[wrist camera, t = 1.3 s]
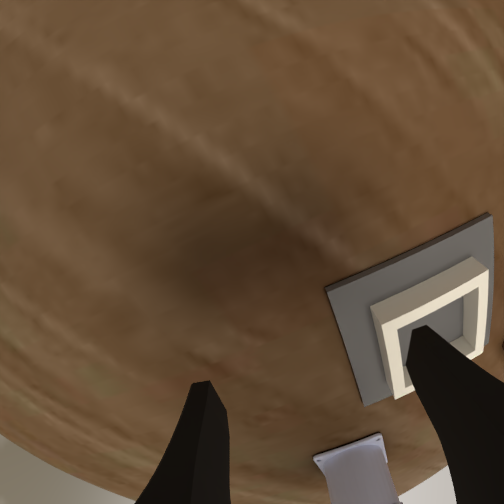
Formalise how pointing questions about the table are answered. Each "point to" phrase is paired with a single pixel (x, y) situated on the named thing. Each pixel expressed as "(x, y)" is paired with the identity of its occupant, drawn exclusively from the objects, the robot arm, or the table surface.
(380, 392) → the holder
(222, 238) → the table surface
